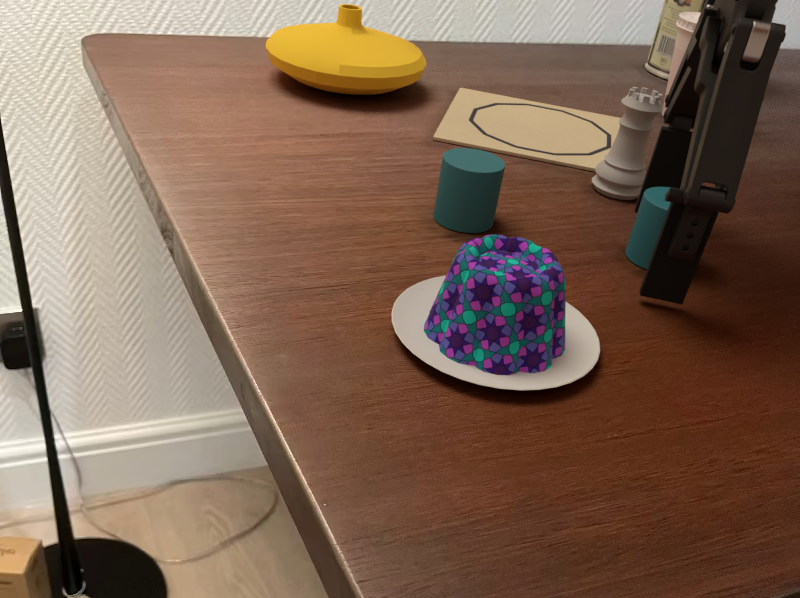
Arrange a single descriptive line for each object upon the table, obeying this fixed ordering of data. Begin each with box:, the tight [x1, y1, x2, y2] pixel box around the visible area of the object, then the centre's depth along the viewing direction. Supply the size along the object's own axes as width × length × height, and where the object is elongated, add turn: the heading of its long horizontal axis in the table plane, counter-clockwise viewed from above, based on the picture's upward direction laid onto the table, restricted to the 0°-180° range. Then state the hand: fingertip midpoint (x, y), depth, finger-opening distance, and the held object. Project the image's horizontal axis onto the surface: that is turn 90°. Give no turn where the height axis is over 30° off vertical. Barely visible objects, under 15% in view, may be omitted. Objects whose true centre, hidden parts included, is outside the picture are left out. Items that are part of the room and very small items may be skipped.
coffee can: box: [644, 0, 705, 81], centre depth 96 cm, size 10×10×14 cm
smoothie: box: [661, 12, 701, 117], centre depth 81 cm, size 6×6×14 cm
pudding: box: [391, 233, 601, 391], centre depth 45 cm, size 12×12×5 cm
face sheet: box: [432, 87, 622, 173], centre depth 77 cm, size 18×16×1 cm
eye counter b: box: [624, 187, 671, 270], centre depth 56 cm, size 4×4×4 cm
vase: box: [265, 3, 428, 96], centre depth 79 cm, size 16×16×7 cm
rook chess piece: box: [591, 86, 663, 201], centre depth 65 cm, size 4×4×8 cm
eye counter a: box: [433, 147, 506, 234], centre depth 57 cm, size 4×4×4 cm
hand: (655, 252), depth 57 cm, fingers open, 13 cm apart
